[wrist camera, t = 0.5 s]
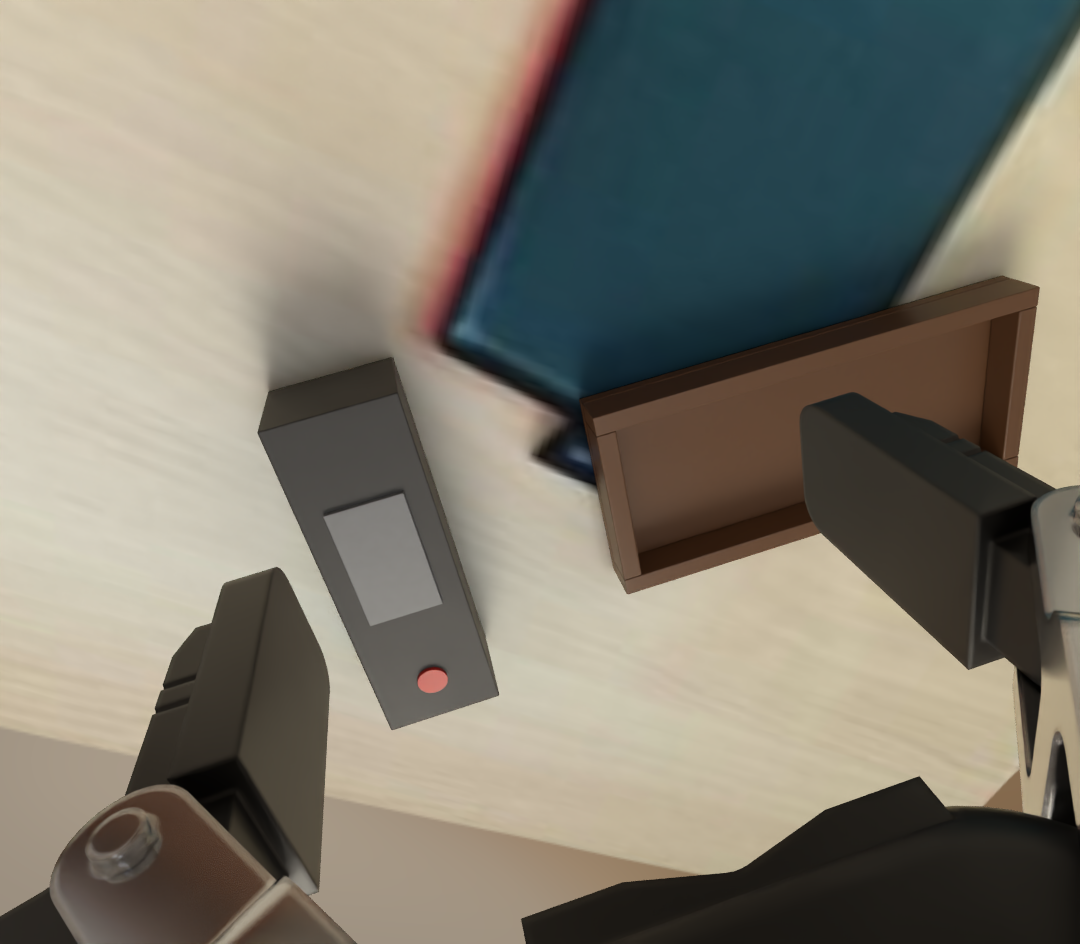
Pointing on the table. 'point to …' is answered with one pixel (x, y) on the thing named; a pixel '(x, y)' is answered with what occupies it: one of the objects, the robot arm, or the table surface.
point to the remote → (380, 538)
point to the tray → (793, 423)
